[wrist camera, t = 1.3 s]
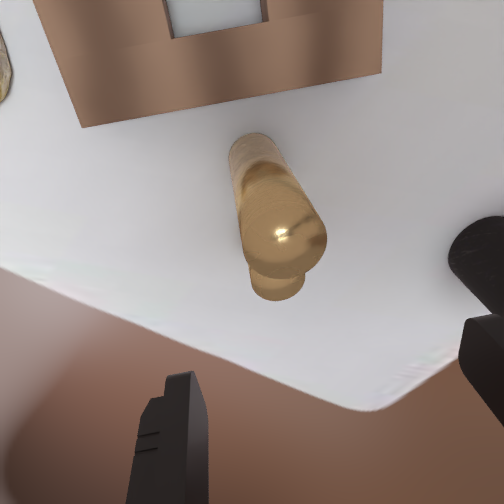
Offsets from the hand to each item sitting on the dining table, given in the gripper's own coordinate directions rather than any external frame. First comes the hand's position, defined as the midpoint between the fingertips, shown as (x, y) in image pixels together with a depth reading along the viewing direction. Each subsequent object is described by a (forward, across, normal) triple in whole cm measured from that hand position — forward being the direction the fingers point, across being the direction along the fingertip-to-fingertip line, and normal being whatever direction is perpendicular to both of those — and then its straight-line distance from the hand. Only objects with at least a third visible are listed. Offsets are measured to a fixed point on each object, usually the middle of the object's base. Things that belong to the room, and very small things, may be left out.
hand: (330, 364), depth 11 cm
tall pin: (+21, 0, 0) cm, 21 cm away
